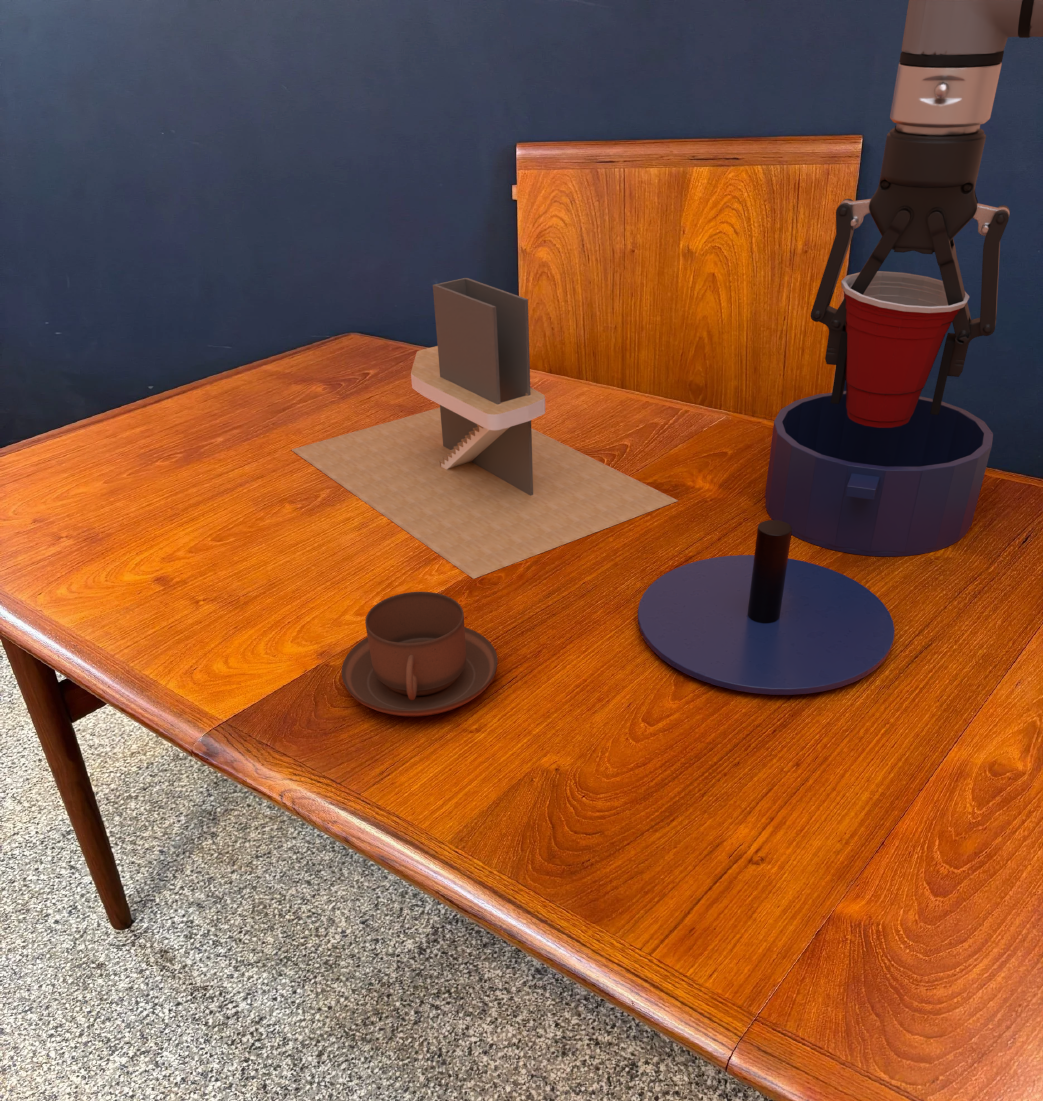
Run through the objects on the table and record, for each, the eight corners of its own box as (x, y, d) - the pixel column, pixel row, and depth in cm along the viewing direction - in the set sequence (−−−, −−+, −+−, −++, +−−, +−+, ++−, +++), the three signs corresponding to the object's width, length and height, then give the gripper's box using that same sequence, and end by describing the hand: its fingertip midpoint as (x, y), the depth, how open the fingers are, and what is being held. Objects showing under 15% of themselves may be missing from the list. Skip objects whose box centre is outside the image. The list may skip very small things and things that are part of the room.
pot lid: (905, 589, 88) (927, 491, 82) (874, 726, 73) (898, 618, 67) (675, 551, 95) (681, 458, 89) (603, 669, 79) (605, 567, 74)
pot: (978, 472, 106) (998, 393, 101) (962, 585, 88) (985, 496, 83) (790, 449, 113) (800, 373, 108) (739, 550, 94) (748, 464, 89)
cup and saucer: (519, 709, 76) (516, 641, 72) (362, 746, 73) (351, 677, 69) (472, 629, 85) (468, 564, 81) (331, 659, 82) (320, 593, 78)
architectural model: (290, 449, 117) (259, 270, 105) (471, 398, 129) (461, 232, 117) (473, 578, 92) (458, 362, 80) (678, 500, 103) (691, 301, 91)
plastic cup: (944, 443, 89) (976, 304, 82) (819, 434, 92) (839, 298, 85) (939, 400, 98) (967, 270, 90) (823, 393, 100) (842, 265, 93)
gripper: (796, 130, 81) (764, 405, 95) (1083, 136, 74) (1005, 432, 88) (812, 117, 87) (780, 379, 100) (1081, 122, 80) (1008, 402, 93)
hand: (885, 403), depth 94 cm, fingers closed on plastic cup, 8 cm apart
